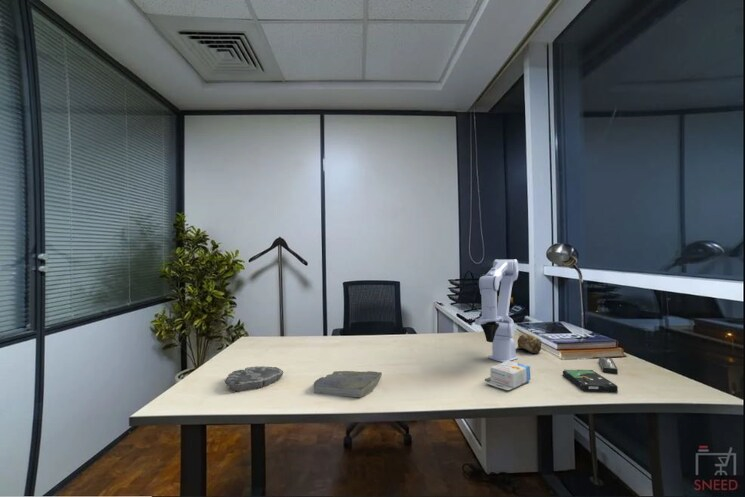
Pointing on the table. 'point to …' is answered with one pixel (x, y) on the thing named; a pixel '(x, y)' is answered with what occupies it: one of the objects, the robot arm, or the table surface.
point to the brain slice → (253, 378)
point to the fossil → (347, 383)
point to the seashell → (529, 343)
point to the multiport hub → (608, 365)
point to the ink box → (509, 375)
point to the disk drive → (590, 381)
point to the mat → (515, 387)
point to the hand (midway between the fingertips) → (489, 341)
